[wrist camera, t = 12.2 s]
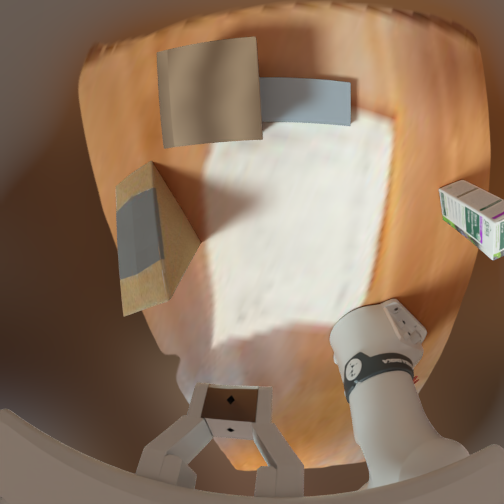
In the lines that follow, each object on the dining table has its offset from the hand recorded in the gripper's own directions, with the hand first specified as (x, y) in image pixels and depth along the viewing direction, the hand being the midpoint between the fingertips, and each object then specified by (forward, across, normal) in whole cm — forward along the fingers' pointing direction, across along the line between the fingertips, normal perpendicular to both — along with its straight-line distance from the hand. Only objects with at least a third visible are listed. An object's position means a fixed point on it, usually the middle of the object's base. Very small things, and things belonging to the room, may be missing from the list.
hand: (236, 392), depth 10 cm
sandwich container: (+32, +17, +3) cm, 36 cm away
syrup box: (+31, -31, +1) cm, 44 cm away
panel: (+32, -1, -12) cm, 34 cm away
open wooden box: (+31, +5, -13) cm, 34 cm away
